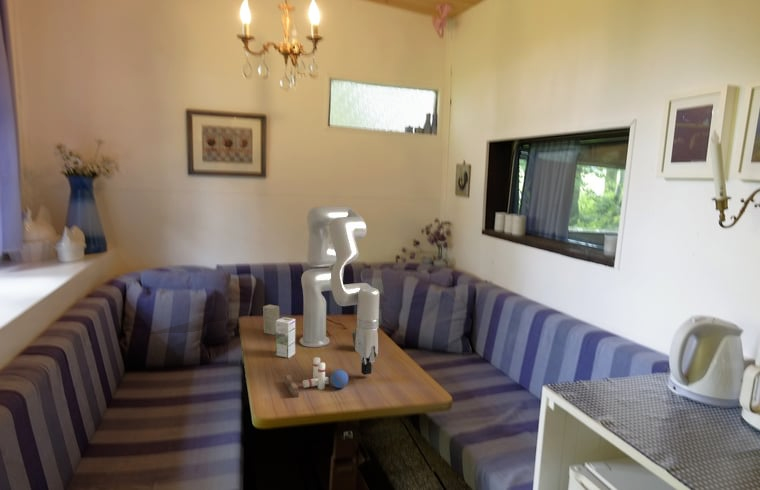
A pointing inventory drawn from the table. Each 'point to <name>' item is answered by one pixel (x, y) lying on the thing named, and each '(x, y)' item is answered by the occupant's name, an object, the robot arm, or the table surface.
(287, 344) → the syrup box
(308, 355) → the table surface
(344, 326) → the glasses
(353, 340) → the cup
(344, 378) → the ball
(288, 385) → the back wall
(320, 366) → the pin
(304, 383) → the front pin
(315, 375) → the pin
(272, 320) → the skincare box
